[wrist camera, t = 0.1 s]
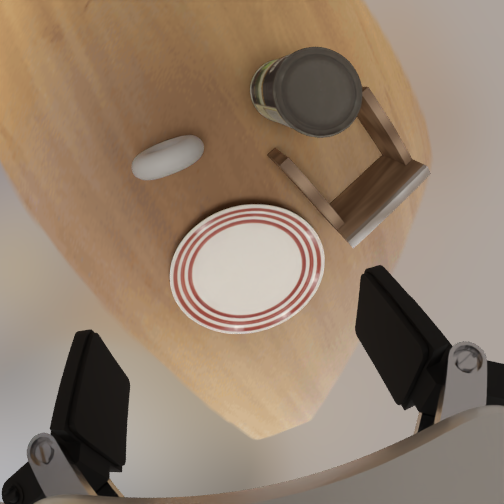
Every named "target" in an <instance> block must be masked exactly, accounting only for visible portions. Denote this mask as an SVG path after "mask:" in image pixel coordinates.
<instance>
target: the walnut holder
mask: <svg viewBox="0 0 504 504" xmlns="http://www.w3.org/2000/svg"><path fill="white" fill-rule="evenodd" d="M357 117H358V119H359V120H360V121H361V123H362V124H363V126H364V127H365V129H366V130H367V132H368V133H369V135H370V136H371V138H372V139H373V141H374V142H375V144H376V145H377V147H378V148H379V150H380V151H381V153H382V156H381V157H380V158H379V159H378V160H377V161H375V162H374V163H373V164H372V165H371V166H370V167H369V168H368V169H367V170H366V171H365V172H364V173H363V174H362V175H360V176H359V177H358V178H357V179H356V180H355V181H354V182H353V183H352V184H351V185H350V186H349V187H348V188H346V189H345V190H344V191H343V192H342V193H341V194H340V195H339V196H338V197H337V198H336V199H334V200H333V201H332V202H331V203H330V204H329V203H328V202H327V201H326V200H325V199H324V197H323V196H322V195H321V194H320V193H319V191H318V190H317V189H316V188H315V187H314V186H313V184H312V183H311V182H310V181H309V180H308V179H307V178H306V176H305V175H304V174H303V173H302V172H301V171H300V170H299V169H298V167H297V166H296V165H295V164H294V163H293V162H292V161H291V160H290V159H289V157H287V156H286V155H284V154H283V153H282V152H280V151H279V150H277V149H276V148H274V149H273V150H272V151H271V152H270V153H269V154H268V156H269V157H270V158H271V159H272V160H273V161H274V162H275V163H276V164H277V165H278V167H279V168H280V169H281V170H282V171H283V172H284V173H285V174H286V175H287V176H288V177H289V178H290V179H291V180H292V181H293V183H294V184H295V185H296V186H297V187H298V188H299V189H300V190H301V191H302V192H303V194H304V195H305V196H306V197H307V198H308V199H309V200H310V201H311V202H312V204H313V205H314V206H315V207H316V208H317V209H318V210H319V212H320V213H321V214H322V215H323V216H324V217H325V218H326V219H327V220H328V222H329V223H330V224H331V225H332V226H333V227H334V228H335V229H336V230H337V231H338V232H339V233H340V234H341V235H342V236H343V238H344V239H345V240H346V241H347V242H348V243H349V244H350V245H351V246H352V247H353V248H354V247H355V246H356V245H357V244H359V243H360V242H361V241H362V240H363V239H364V238H365V237H366V236H367V235H368V234H369V233H371V232H372V231H373V230H374V229H375V228H376V227H377V226H378V225H379V224H380V223H381V222H382V221H383V220H384V219H385V218H387V217H388V216H389V215H390V214H391V213H392V212H393V211H394V210H395V209H396V208H397V207H398V206H399V205H400V204H401V203H402V202H403V201H404V200H405V199H406V198H407V197H408V196H409V195H410V194H411V193H412V192H413V191H414V190H415V189H416V188H417V187H418V186H419V185H420V184H421V183H422V182H423V181H424V180H425V179H426V178H427V177H428V176H429V175H430V174H431V173H430V171H429V169H428V167H427V166H426V165H424V164H422V163H419V162H417V161H415V160H413V159H412V158H411V156H410V154H409V152H408V150H407V149H406V147H405V145H404V143H403V141H402V140H401V138H400V136H399V135H398V133H397V131H396V129H395V128H394V126H393V124H392V123H391V121H390V119H389V118H388V116H387V115H386V113H385V112H384V110H383V108H382V107H381V105H380V104H379V102H378V101H377V99H376V98H375V96H374V95H373V93H372V92H371V90H370V89H369V87H362V103H361V107H360V111H359V113H358V115H357Z"/></svg>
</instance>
